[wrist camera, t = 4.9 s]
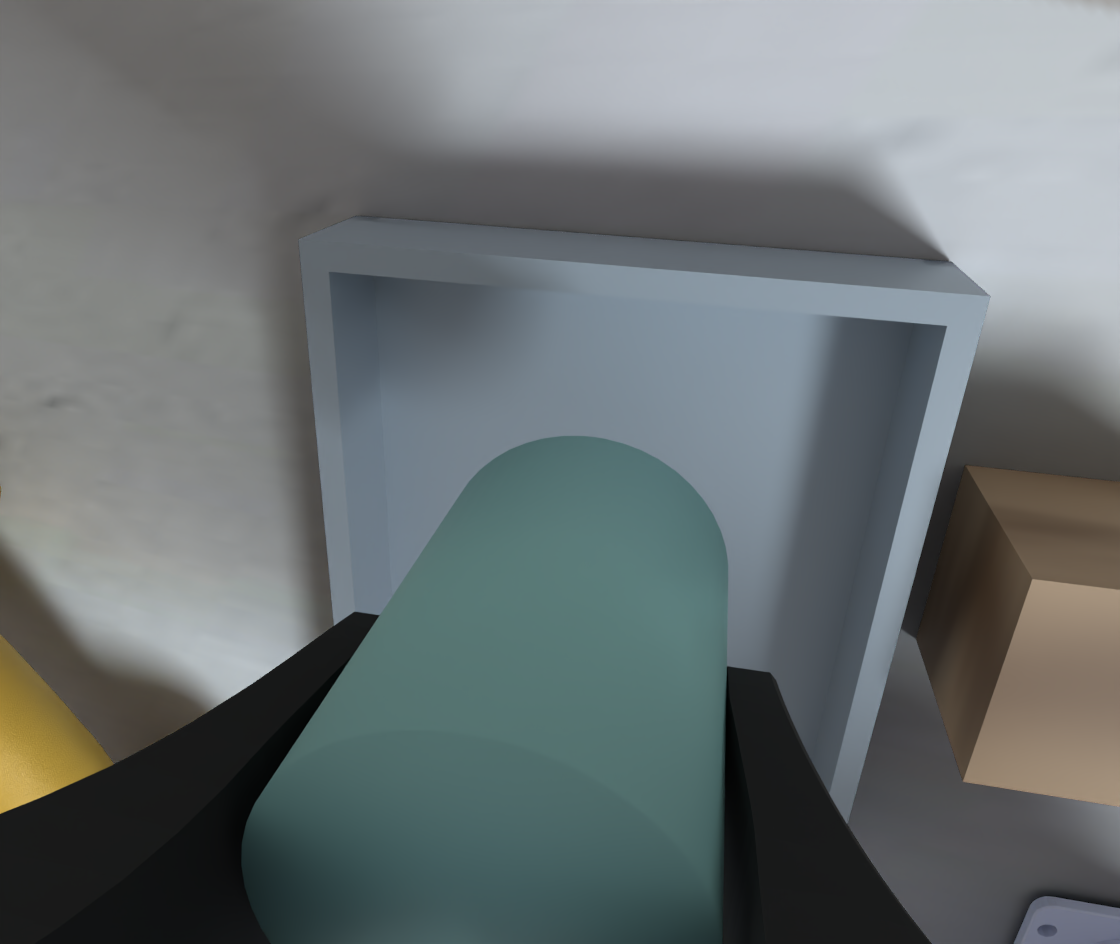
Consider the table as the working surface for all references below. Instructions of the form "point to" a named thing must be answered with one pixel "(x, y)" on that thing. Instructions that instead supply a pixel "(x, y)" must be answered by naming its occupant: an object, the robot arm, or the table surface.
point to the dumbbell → (38, 736)
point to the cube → (1029, 633)
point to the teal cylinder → (520, 727)
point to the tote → (656, 418)
